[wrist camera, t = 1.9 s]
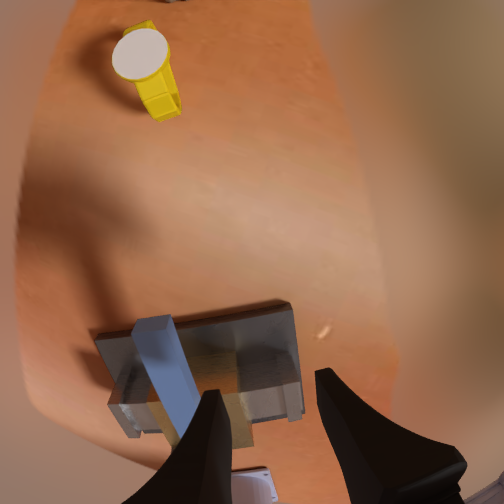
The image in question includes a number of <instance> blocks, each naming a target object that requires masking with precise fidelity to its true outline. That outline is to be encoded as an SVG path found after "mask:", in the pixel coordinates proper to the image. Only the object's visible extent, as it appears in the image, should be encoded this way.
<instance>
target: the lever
mask: <svg viewBox="0 0 504 504" xmlns="http://www.w3.org/2000/svg"><path fill="white" fill-rule="evenodd" d="M131 335H132V338H133V340H134V343H135V345H136V348H137V350H138V352H139V355H140V357H141V359H142V361H143V364H144V366H145V368H146V370H147V373H148V375H149V377H150V379H151V381H152V383H153V386H154V388H155V390H156V392H157V394H158V396H159V398H160V400H161V402H162V404H163V406H164V408H165V410H166V412H167V414H168V416H169V418H170V420H171V422H172V424H173V425H174V427H175V429H176V431H177V433H178V435H179V436H180V438H182V436H183V434H184V433H185V431H186V429H187V427H188V425H189V423H190V421H191V419H192V417H193V415H194V413H195V411H196V409H197V407H198V404H199V402H200V399H201V397H200V395H199V392H198V390H197V387H196V384H195V382H194V379H193V377H192V374H191V371H190V369H189V366H188V363H187V360H186V358H185V355H184V352H183V349H182V346H181V344H180V341H179V338H178V335H177V332H176V329H175V326H174V323H173V320H172V317H171V314H169V315H163V316H156V317H150V318H143V319H138V320H137V322H136V324H135V326H134V328H133V330H132V333H131Z"/></svg>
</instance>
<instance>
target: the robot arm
mask: <svg viewBox="0 0 504 504" xmlns="http://www.w3.org/2000/svg"><path fill="white" fill-rule="evenodd" d="M315 381H316V395H317V405H318V409H319V412H320V416H321V419H322V423H323V426H324V428H325V430H326V433H327V435H328V438H329V440H330V442H331V445H332V447H333V449H334V452H335V454H336V456H337V459H338V461H339V464H340V466H341V469H342V472H343V476H344V479H345V483H346V486H347V490H348V493H349V497H350V501H351V504H504V471H503V472H502V474H501V475H500V476H499V478H498V479H497V480H496V481H494V482H493V483H491V484H489V485H488V486H486V487H485V488H483V489H482V490H480V491H479V492H477V493H475V494H474V495H472V496H471V497H469V498H467V499H465V500H462V498H461V496H460V494H459V492H460V491H461V489H460V487H459V485H458V481H459V480H460V479H461V477H462V475H463V474H464V473H465V471H466V468H467V462H466V461H465V459H464V458H463V456H462V455H461V453H460V452H459V451H458V450H457V449H456V448H455V447H454V446H451V445H448V444H444V443H440V442H437V441H433V440H430V439H427V438H425V437H422V436H420V435H418V434H415V433H414V432H411V431H409V430H407V429H405V428H403V427H401V426H399V425H397V424H396V423H394V422H392V421H391V420H389V419H388V418H386V417H384V416H383V415H381V414H380V413H379V412H377V411H376V410H374V409H373V408H372V407H371V406H369V405H368V404H367V403H366V402H364V401H363V400H362V399H361V398H360V397H359V396H357V395H356V394H355V393H354V392H353V391H352V390H351V389H350V388H349V387H348V386H347V385H346V384H345V383H344V382H343V381H342V380H341V379H340V378H339V377H338V376H337V375H336V373H335V372H334V371H333V370H332V369H331V368H325V369H321V370H316V371H315ZM231 467H232V433H231V423H230V418H229V415H228V412H227V409H226V407H225V404H224V401H223V398H222V395H221V392H220V389H213V390H206V391H204V392H203V394H202V397H201V399H200V402H199V404H198V407H197V409H196V411H195V413H194V415H193V417H192V419H191V421H190V423H189V425H188V427H187V429H186V431H185V433H184V434H183V436H182V438H181V440H180V441H179V443H178V445H177V446H176V448H175V449H174V451H173V452H172V453H171V455H170V456H169V458H168V459H167V460H166V462H165V463H164V464H163V465H162V466H161V468H160V469H159V470H158V471H157V472H156V473H155V475H154V476H153V477H152V478H151V479H150V480H149V481H148V482H147V483H146V484H145V485H144V486H142V487H141V488H140V489H139V490H138V491H137V492H136V493H135V494H133V495H132V496H131V497H130V498H128V499H127V500H126V501H124V502H123V503H122V504H273V502H276V501H278V496H277V493H276V490H275V487H274V484H273V480H272V477H271V474H270V470H269V469H268V468H263V469H256V470H249V471H241V472H232V473H231Z"/></svg>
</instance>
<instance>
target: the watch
mask: <svg viewBox="0 0 504 504" xmlns="http://www.w3.org/2000/svg"><path fill="white" fill-rule="evenodd" d="M169 58H170V46H169V44H168V42H167V40H166V39H165V37H164V36H163V35H162V34H161V33H160V32H158V31H157V29H156V28H155V26H154V24H153V23H152V21H151V20H146V21H143V22H141V23H138V24H136V25H133V26H131V27H129V28H127V29H126V30H125V31H124V32H123V38H122V39H121V40H120V41H119V42H118V44H117V45H116V47H115V48H114V51H113V54H112V67H113V69H114V71H115V73H116V74H117V75H118V76H120V77H121V78H122V79H124V80H126V81H128V82H131V83H134V85H135V87H136V89H137V92H138V94H139V96H140V99H141V101H142V102H143V105H144V106H145V108H146V109H147V111H148V113H149V114H150V116H151V117H152V118H153V119H155V120H156V121H158V122H161V121H164V120H167V119H169V118H172V117H175V116H178V115H180V114H181V111H182V106H181V101H180V96H179V93H178V89H177V86H176V83H175V80H174V76H173V73H172V70H171V66H170V63H169Z"/></svg>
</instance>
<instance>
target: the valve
mask: <svg viewBox="0 0 504 504" xmlns="http://www.w3.org/2000/svg"><path fill="white" fill-rule="evenodd" d="M174 326H175V329H176V332H177V335H178V338H179V341H180V344H181V346H182V349H183V352H184V355H185V358H186V360H187V363H188V366H189V369H190V371H191V374H192V377H193V379H194V382H195V384H196V387H197V390H198V392H199V395H200V397H202V394H203V392H204V391H206V390H213V389H220V392H221V395H222V398H223V401H224V404H225V407H226V409H227V412H228V415H229V418H230V423H231V433H232V449H238V448H246V447H253V446H254V441H253V431H252V424H253V423H259V422H265V421H271V420H276V419H282V418H287V417H288V421H289V422H292V421H296V420H301V419H302V414H305V407H304V397H303V389H302V380H301V371H300V363H299V355H298V347H297V339H296V331H295V323H294V315H293V309H292V306H291V304H290V303H287V304H282V305H277V306H272V307H267V308H262V309H257V310H252V311H246V312H241V313H235V314H230V315H224V316H218V317H212V318H206V319H200V320H194V321H188V322H182V323H175V324H174ZM131 333H132V330H126V331H118V332H110V333H102V334H98V336H97V337H96V339H95V343H96V345H97V347H98V350H99V352H100V354H101V356H102V358H103V360H104V362H105V364H106V366H107V368H108V370H109V372H110V374H111V376H112V378H113V380H114V382H115V386H114V388H113V391H112V393H111V396H110V398H109V401H108V404H107V405H108V407H109V408H110V410H111V412H112V413H113V415H114V416H115V418H116V420H117V421H118V423H119V424H120V426H121V427H122V429H123V430H124V432H125V433H126V435H127V436H128V438H140V435H141V431H142V430H143V432H144V433H164V435H165V437H166V439H167V440H168V442H169V444H170V445H171V447H172V449H171V453H172V452H173V451H174V449H175V448H176V446H177V445H178V443H179V441H180V440H181V438H180V436H179V435H178V433H177V431H176V429H175V427H174V425H173V424H172V422H171V420H170V418H169V416H168V414H167V412H166V410H165V408H164V406H163V404H162V402H161V400H160V398H159V396H158V394H157V392H156V390H155V388H154V386H153V383H152V381H151V379H150V377H149V375H148V373H147V370H146V368H145V366H144V364H143V361H142V359H141V357H140V355H139V352H138V350H137V348H136V345H135V343H134V340H133V338H132V335H131Z"/></svg>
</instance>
